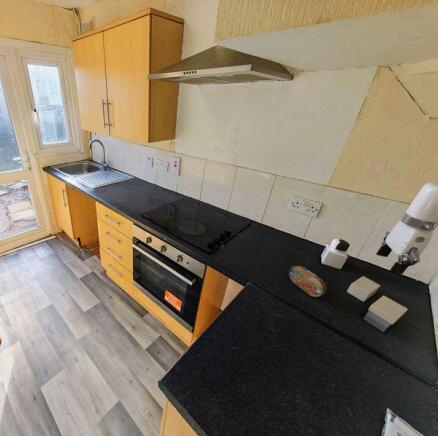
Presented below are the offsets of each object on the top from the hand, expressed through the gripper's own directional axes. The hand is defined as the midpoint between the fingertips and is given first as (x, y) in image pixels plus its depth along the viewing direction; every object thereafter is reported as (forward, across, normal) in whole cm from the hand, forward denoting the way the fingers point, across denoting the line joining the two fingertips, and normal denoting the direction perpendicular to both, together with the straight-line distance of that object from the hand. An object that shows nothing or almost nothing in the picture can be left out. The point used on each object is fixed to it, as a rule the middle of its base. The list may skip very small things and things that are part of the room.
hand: (388, 263), depth 79 cm
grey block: (+22, -4, -6) cm, 24 cm away
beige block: (+22, +10, -5) cm, 25 cm away
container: (+23, +29, +2) cm, 37 cm away
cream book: (+18, -4, -6) cm, 19 cm away
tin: (+23, +4, +18) cm, 29 cm away
